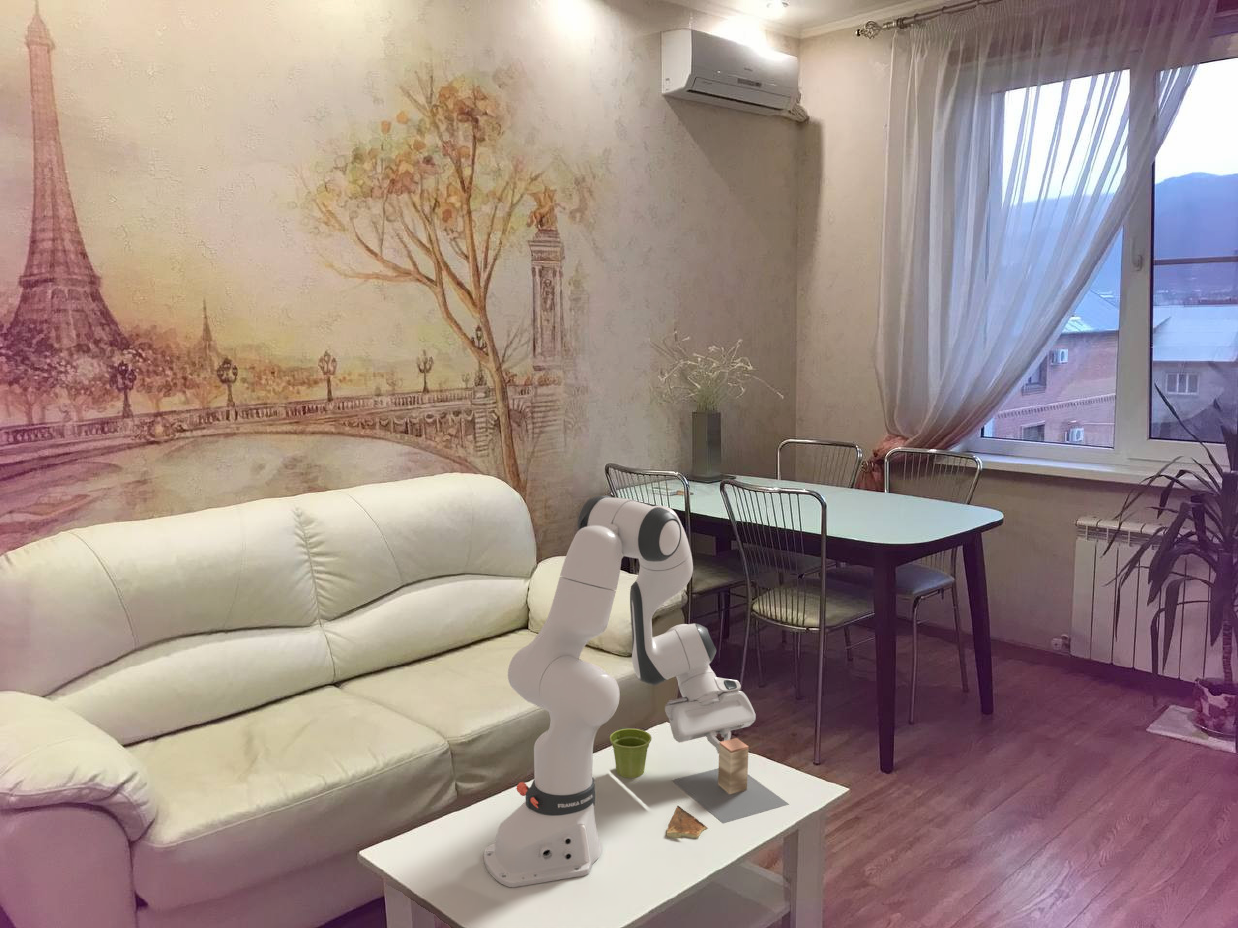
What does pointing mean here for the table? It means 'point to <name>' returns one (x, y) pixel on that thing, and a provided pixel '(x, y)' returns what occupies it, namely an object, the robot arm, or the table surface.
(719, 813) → the rubber mat
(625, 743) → the plant pot
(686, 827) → the shard
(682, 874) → the table surface
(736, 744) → the birch block
